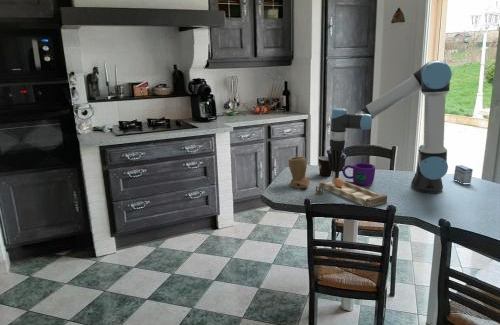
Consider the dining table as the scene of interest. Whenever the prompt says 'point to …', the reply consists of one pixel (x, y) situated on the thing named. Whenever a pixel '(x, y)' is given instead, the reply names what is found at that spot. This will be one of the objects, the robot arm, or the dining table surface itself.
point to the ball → (338, 182)
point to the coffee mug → (324, 167)
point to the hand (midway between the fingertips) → (334, 183)
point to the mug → (361, 173)
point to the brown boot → (298, 172)
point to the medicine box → (463, 174)
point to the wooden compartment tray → (356, 193)
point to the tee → (319, 191)
